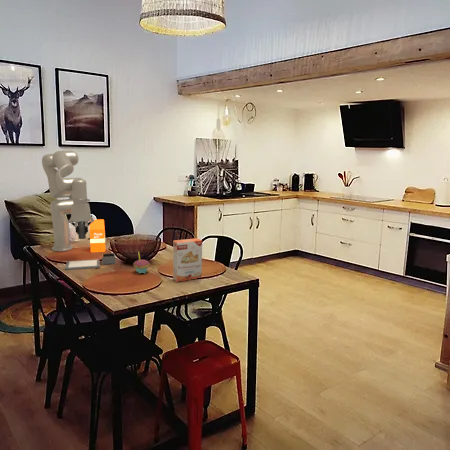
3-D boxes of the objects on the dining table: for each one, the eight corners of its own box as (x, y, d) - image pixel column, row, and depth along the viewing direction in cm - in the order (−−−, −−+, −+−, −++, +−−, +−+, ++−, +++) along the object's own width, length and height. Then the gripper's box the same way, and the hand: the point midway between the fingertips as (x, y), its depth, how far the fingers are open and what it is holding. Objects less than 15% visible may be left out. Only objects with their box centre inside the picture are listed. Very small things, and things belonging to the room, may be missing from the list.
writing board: (67, 262, 250) (67, 260, 250) (99, 260, 255) (99, 259, 255) (65, 270, 237) (65, 268, 237) (99, 267, 242) (99, 266, 241)
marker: (78, 237, 248) (77, 216, 245) (86, 237, 249) (85, 216, 247) (78, 239, 244) (77, 218, 242) (85, 238, 245) (84, 217, 243)
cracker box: (177, 282, 220) (176, 242, 216) (172, 279, 225) (172, 240, 221) (202, 279, 227) (202, 240, 222) (197, 275, 232) (197, 237, 227)
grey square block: (102, 261, 254) (101, 253, 253) (114, 260, 256) (114, 253, 255) (102, 264, 247) (101, 257, 246) (115, 264, 249) (115, 256, 248)
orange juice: (91, 249, 279) (89, 218, 275) (105, 248, 281) (104, 218, 277) (90, 252, 271) (89, 221, 267) (105, 251, 274) (104, 220, 269)
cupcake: (130, 273, 233) (130, 252, 230) (139, 269, 241) (138, 248, 238) (144, 275, 230) (143, 254, 227) (152, 271, 238) (152, 250, 235)
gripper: (95, 200, 248) (97, 231, 252) (64, 201, 244) (66, 233, 247) (95, 202, 241) (97, 234, 245) (63, 203, 237) (65, 235, 240)
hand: (81, 233), depth 246 cm, fingers closed on marker, 3 cm apart
